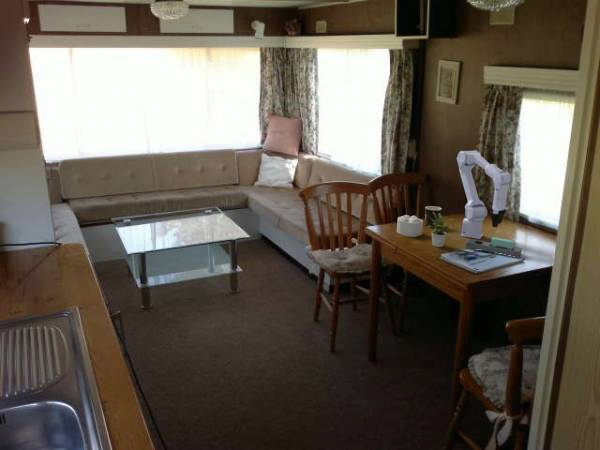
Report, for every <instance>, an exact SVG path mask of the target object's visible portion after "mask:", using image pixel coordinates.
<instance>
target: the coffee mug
mask: <svg viewBox="0 0 600 450" xmlns="http://www.w3.org/2000/svg"><path fill="white" fill-rule="evenodd" d="M424 211H425V212H424V213H425V214H424V217H425V218H424V220H425V227H426V228H432V229H435V228H434V227H435V225H434V224H433V223H434V220H435V221H436V219H435V215H434V213H435V214H436V216H437V221H438V214H440V215H442V214H441V213H442V208H441V207H440V206H434V205H433V206H432V205H431V206H430V205H428V206H425V207H424ZM433 212H434V213H433ZM427 215H428V216H427ZM429 217H430V218H429ZM432 219H433V221H432ZM428 224H429V225H428ZM428 226H431V227H428ZM432 226H433V227H432Z"/></svg>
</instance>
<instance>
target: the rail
mask: <svg viewBox="0 0 600 450" xmlns="http://www.w3.org/2000/svg"><path fill="white" fill-rule="evenodd" d="M465 245H466V246H465V248H466V249H468V250H472V249H482V250H487V251H492V252H497V253H502V254H506V255H511V256H515V257H514V258H516V257H518V258H517V259H520V257H521V255H522V250H523V248H521V247H516V246H514V248H513V250H510V249H507V248H506V247H500V246H497V247H493V246H492V245H491V242H488V241H482V240H479V239H477V240H476V239H473V238H471V239H468V240H467V242H466V244H465Z"/></svg>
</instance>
